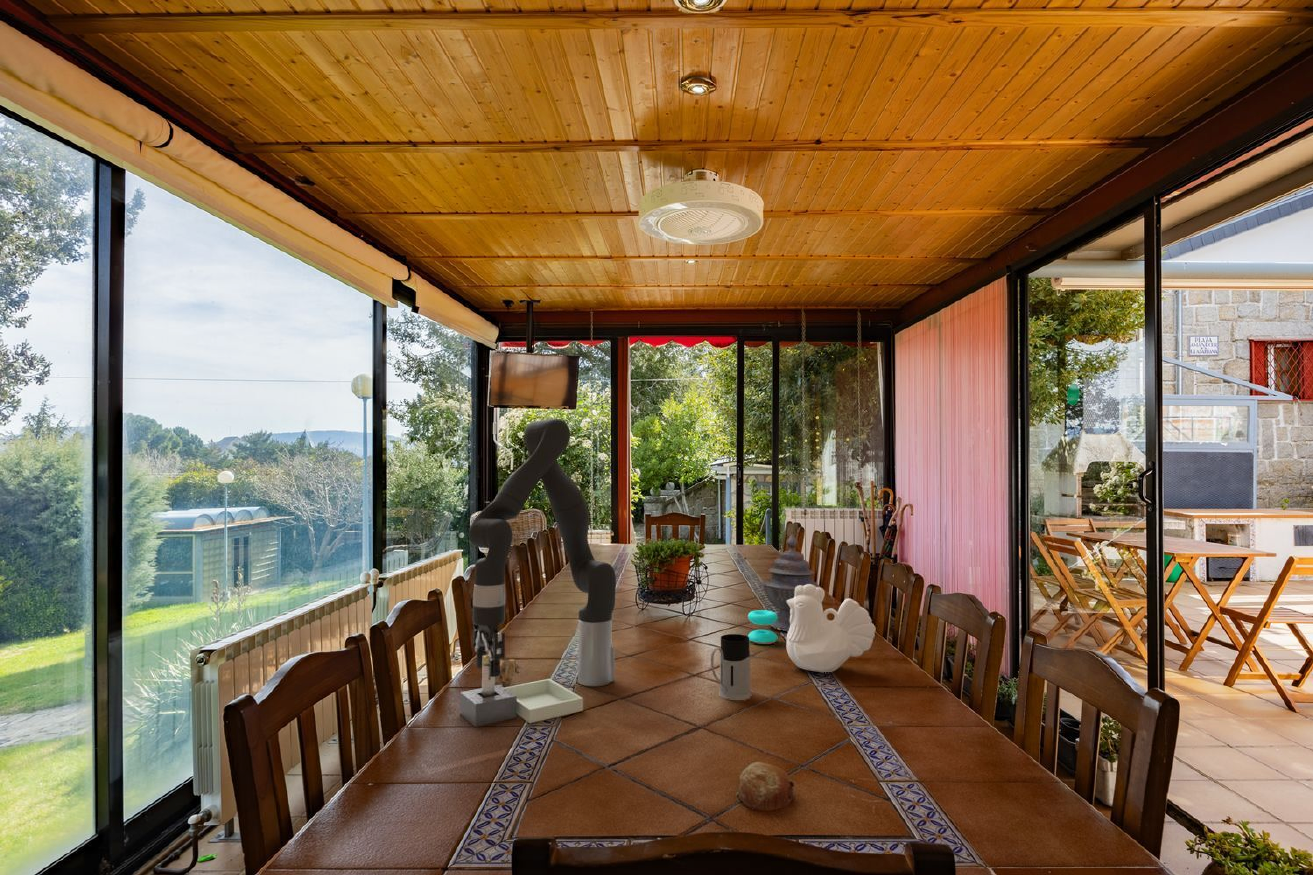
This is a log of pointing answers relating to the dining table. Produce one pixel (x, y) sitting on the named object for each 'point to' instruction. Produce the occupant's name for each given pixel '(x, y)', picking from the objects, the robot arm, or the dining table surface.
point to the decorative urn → (787, 581)
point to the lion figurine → (507, 672)
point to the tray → (545, 700)
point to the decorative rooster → (825, 631)
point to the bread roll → (765, 787)
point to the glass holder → (733, 667)
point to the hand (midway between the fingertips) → (487, 671)
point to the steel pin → (487, 678)
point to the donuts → (762, 619)
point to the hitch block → (488, 706)
